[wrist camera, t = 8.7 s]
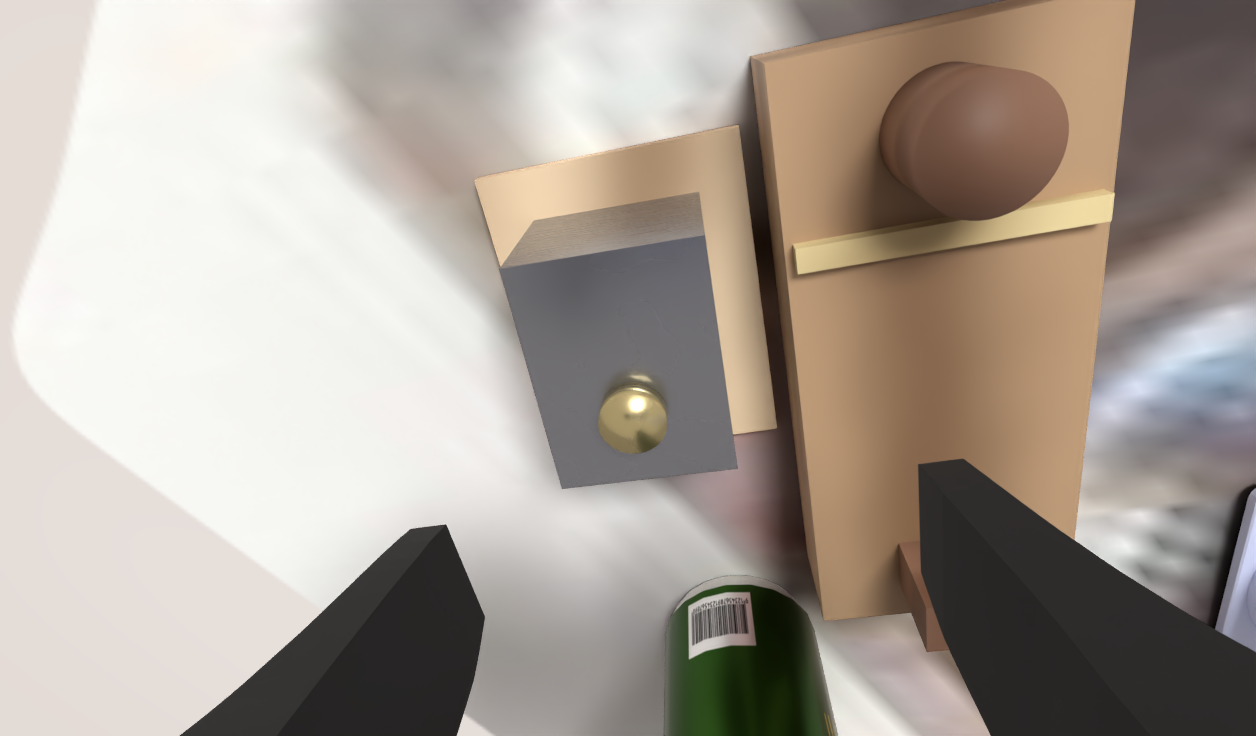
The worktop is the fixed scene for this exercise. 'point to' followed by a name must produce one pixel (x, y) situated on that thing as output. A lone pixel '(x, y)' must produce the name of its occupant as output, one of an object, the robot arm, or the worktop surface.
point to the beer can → (743, 664)
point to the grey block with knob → (623, 341)
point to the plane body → (939, 269)
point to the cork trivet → (653, 175)
